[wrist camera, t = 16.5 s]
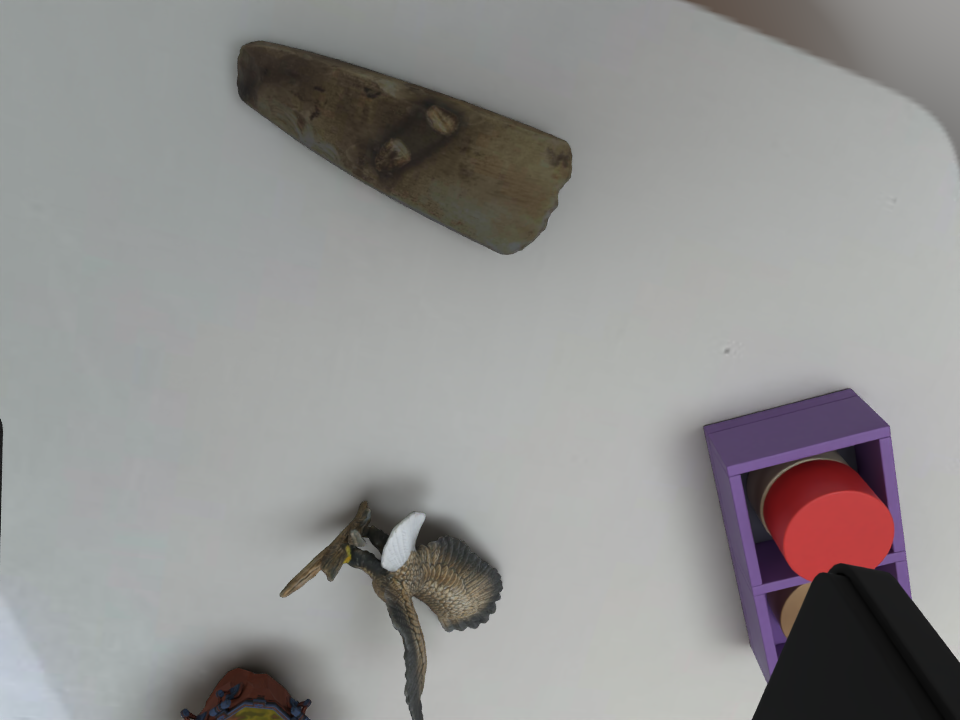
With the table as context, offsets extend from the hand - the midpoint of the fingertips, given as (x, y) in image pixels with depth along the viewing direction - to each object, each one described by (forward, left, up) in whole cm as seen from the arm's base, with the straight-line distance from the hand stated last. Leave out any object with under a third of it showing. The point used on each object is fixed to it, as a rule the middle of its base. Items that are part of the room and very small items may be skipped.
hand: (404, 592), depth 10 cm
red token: (+9, +18, -23) cm, 31 cm away
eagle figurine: (+18, +2, -26) cm, 32 cm away
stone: (-2, -2, -26) cm, 27 cm away
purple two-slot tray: (+12, +19, -26) cm, 35 cm away
